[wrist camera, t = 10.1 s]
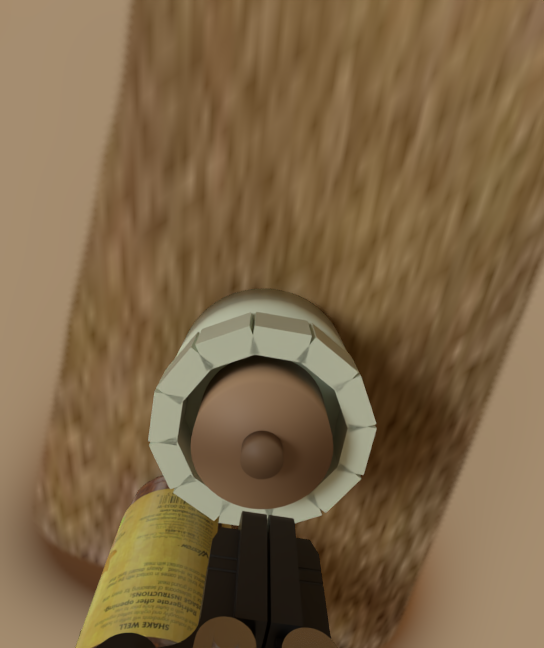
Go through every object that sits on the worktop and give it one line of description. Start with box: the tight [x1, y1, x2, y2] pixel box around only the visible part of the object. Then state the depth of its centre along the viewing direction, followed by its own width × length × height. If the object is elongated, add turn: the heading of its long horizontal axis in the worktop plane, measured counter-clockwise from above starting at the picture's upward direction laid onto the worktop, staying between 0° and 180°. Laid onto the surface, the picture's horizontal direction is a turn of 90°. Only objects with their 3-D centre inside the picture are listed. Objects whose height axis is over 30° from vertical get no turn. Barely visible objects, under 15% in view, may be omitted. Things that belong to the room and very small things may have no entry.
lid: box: [191, 355, 333, 509], centre depth 20 cm, size 6×6×4 cm
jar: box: [148, 289, 377, 526], centre depth 23 cm, size 9×9×7 cm
